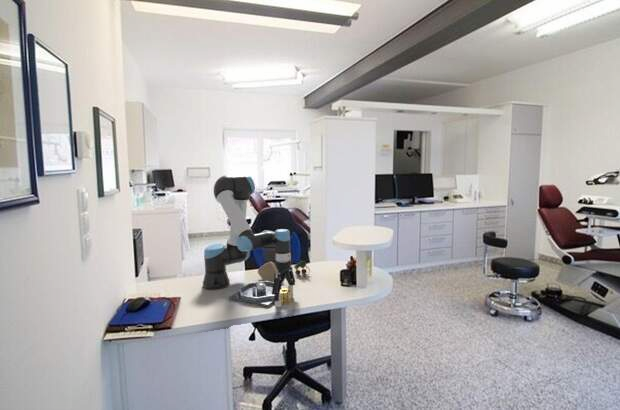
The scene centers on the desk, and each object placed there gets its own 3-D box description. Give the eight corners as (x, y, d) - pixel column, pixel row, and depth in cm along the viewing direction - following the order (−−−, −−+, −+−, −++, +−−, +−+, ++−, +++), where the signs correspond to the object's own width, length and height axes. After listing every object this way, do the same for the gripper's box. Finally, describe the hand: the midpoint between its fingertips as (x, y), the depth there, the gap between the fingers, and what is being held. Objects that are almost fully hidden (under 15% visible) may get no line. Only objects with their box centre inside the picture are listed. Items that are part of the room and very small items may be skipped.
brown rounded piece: (272, 288, 206) (287, 278, 198) (262, 290, 200) (277, 279, 192) (265, 268, 212) (279, 257, 204) (255, 269, 206) (269, 258, 198)
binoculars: (308, 277, 213) (305, 262, 217) (313, 273, 205) (309, 257, 209) (294, 279, 209) (291, 264, 213) (299, 275, 202) (295, 259, 206)
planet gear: (276, 303, 169) (275, 291, 168) (282, 299, 174) (282, 287, 173) (286, 305, 166) (286, 293, 165) (292, 300, 171) (292, 289, 171)
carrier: (229, 299, 174) (228, 287, 173) (256, 284, 196) (255, 273, 195) (267, 307, 164) (267, 295, 163) (291, 290, 185) (291, 279, 184)
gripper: (276, 268, 155) (278, 312, 157) (301, 255, 176) (302, 294, 179) (263, 266, 158) (265, 310, 161) (288, 253, 180) (289, 292, 182)
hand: (284, 301), depth 170 cm, fingers open, 12 cm apart
